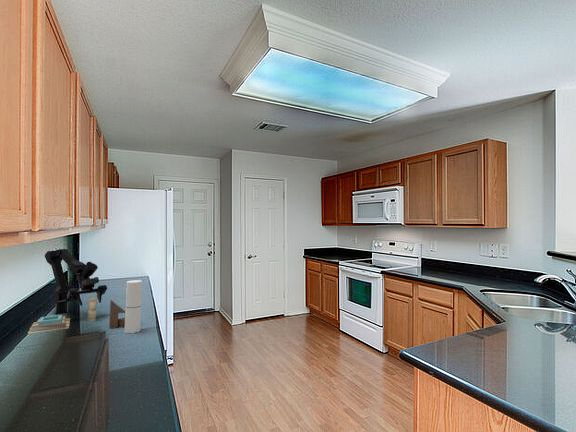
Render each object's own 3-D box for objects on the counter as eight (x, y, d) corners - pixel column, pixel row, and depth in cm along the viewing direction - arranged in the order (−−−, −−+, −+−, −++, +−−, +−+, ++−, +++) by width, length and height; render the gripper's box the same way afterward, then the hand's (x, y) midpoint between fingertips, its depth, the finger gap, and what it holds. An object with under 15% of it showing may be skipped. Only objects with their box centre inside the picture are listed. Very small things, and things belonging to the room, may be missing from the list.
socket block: (40, 325, 160) (40, 317, 160) (61, 322, 165) (62, 314, 165) (38, 330, 152) (38, 321, 153) (60, 327, 157) (61, 319, 157)
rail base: (33, 324, 164) (33, 317, 164) (70, 319, 173) (70, 313, 173) (27, 335, 147) (27, 328, 147) (68, 329, 156) (68, 323, 156)
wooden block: (109, 326, 162) (110, 292, 163) (131, 323, 168) (133, 290, 169) (109, 328, 159) (111, 293, 160) (133, 325, 165) (134, 291, 166)
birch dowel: (87, 321, 170) (88, 297, 171) (95, 320, 172) (96, 296, 173) (87, 323, 167) (88, 299, 167) (96, 322, 169) (97, 298, 170)
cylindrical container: (124, 334, 151) (126, 282, 152) (124, 330, 157) (126, 280, 158) (140, 332, 154) (142, 282, 155) (140, 328, 160) (141, 279, 161)
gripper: (69, 274, 168) (75, 297, 161) (106, 271, 183) (113, 292, 175) (64, 287, 173) (70, 310, 165) (100, 283, 187) (107, 304, 180)
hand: (91, 303), depth 171 cm, fingers open, 9 cm apart
